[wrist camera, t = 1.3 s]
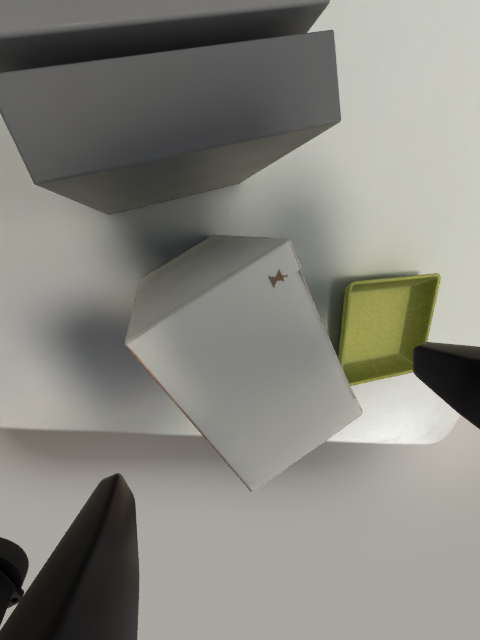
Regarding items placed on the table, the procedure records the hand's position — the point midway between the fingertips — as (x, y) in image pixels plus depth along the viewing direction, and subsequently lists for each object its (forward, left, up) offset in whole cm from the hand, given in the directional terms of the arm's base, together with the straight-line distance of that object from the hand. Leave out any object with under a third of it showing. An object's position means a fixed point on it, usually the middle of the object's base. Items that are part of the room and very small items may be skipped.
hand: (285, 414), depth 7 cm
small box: (0, 0, -12) cm, 12 cm away
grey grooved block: (0, +9, -12) cm, 15 cm away
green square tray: (+13, -6, -12) cm, 19 cm away
